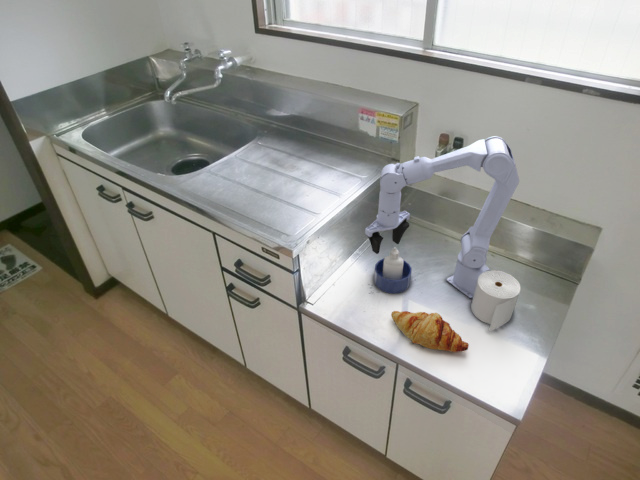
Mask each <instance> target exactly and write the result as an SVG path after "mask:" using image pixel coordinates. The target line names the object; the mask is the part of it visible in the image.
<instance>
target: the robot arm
mask: <svg viewBox="0 0 640 480" xmlns="http://www.w3.org/2000/svg"><path fill="white" fill-rule="evenodd" d="M466 166H467V167H469V168H470V169H473V170H475V171H477V172H479V173H480V172H481V168H482V169H483V172H484V173H485V174H486V175H487V176H488V177H490V178H491V179H493V180H494V183H493V184H492V187H491V189H490V190H489V192H488V194H487V197H486V199H485V201H484V203H483V205H482V208H481V210H480V211H479V214H478V215H477V218H476V220H475V222H474V224H473V225H472V226H469V228H468V230H467V231H465V233H463V234H462V235H461V237H460V246H461V250H460V251H459V253H458V254H457V258H456V264H455V268H454V272H453V274H452V275H451V276H449V277H447V278H446V282H448V283H449V284H450V285H452V286H453V287H454V288H455V289H457V290H458V291H459V292H461V293H462V294H463V295H465V296H466V297H468V298H469V299H473V296H474V292H475V289H476V284H477V280H478V278H479V276H480V275H481V274H482V273H484V272H486V271H492V269H490V267H488V265H487V264H486V263H487V261H488V258H487V254H488V252H489V249H490V243H491V237H492V235H493V233H494V232H495V229H496V228H497V226H498V224H499V222H500V220H501V218H502V216H503V214H504V212H505V211H506V208H507V207H508V205H509V203H510V201H511V199H512V198H513V195H514V193H515V191H516V189H517V187H518V185H519V183H520V178H519V177H520V176H519V173H518V168H517V164H516V161H515V158H514V155H513V152H512V148H511V147H510V145H509V144H508V143H507V142H506V140H505V139H504V138H503V137H501V136H498V135H493V136H489V137H487V138H483V139H478V140H476V141H475V142H473V143H471V144H469V145H467V146H465V147H461V148H458V149H456V150H453V151H450V152H448V153H445V154H442V155H439V156H436V157H433V158H429V157H427V156H421V157H420V155H417V156H415V157H413V159H411V160H408V161H405V162H402V163H400V162H397V163H389V164H386V165H384V167H382V169H381V171H380V178H379V195H378V197H379V198H378V210H377V211H378V212H377V214H376V219H375V220H374V221H373V222H371V224H370V225H368V226H366V227H365V230H364V235H366V236H367V238H368V240H369V243H370V246H371V249H372V252H373V253H375V254H376V255H377V254H380V249H381V244H382V241H383V240H384V237H383V236H382V235H381V233H380V232H384V231H385V232H386V231H390V230H392V236H391V239H392V242H393V243H394V244H396V245H399V244H400V242H401V240H402V238H403V236H404V234H405V232H406V231H407V230H408V229H409V227H410V223H409V220H410V216H411V213H409V212H408V211H407V210H403V211H401V203H402V202H401V201H402V190H403V188H404V187H406V186H409V185H412V184H416V183H420V182H424V181H427V180H430V179H431V178H432V177H433V176H434V174H435V173H439V172H443V171H448V170H452V169H457V168H461V167H466Z"/></svg>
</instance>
